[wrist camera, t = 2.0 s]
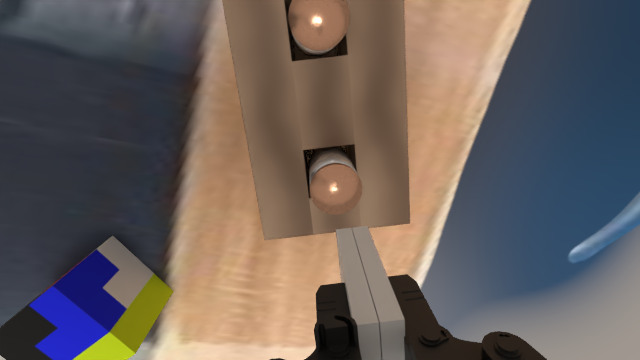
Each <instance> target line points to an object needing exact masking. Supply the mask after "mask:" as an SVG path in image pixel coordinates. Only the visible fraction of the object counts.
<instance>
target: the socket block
mask: <svg viewBox="0 0 640 360" xmlns="http://www.w3.org/2000/svg"><path fill="white" fill-rule="evenodd" d="M222 1H223V7H224V13H225V18H226V24H227V30H228V35H229V41H230V47H231V52H232V58H233V64H234V69H235V75H236V81H237V86H238V92H239V98H240V103H241V109H242V115H243V120H244V126H245V132H246V137H247V143H248V149H249V154H250V160H251V166H252V171H253V177H254V183H255V188H256V194H257V200H258V205H259V211H260V217H261V222H262V228H263V234H264V239H265V240H271V239H280V238H289V237H297V236H306V235H314V234H323V233H332V232H336V229H345V228H351V229H352V228H354V227H362V226H367V227H368V228H375V227H383V226H392V225H400V224H409V223H410V205H409V169H408V133H407V97H406V61H405V25H404V0H346V2H347V4H348V7H349V12H350V21H349V26H348V29H347V32H346V34H345V36H344V37H343V39H342V40H341V41H340V42H339V43H338V44H337V45H338V56H336V57H327V58H318V59H309V60H300V61H294V54H293V46H292V38H291V29H290V25H289V19H288V14H289V7H290V4H291V2H292V0H222ZM343 145H346V151H347V155H348V157H349V158H350V160H351V162H352V164H353V166H354V168H355V170H356V172H357V174H358V176H359V178H360V180H361V183H362V195H361V198H360V200H359V202H358V204H357V205H356V206H355V207H354V208H353V209H351V210H350V211H348V212H346V213H343V214H337V215H334V214H328V213H325V212H323V211H321V210H320V209H318V208H317V207H316V206H315V204H314V203H313V201H312V199H311V196H310V180H309V174H308V167H307V159H306V151H305V150H308V149H317V148H325V147H334V146H343Z"/></svg>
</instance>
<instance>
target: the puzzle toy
mask: <svg viewBox="0 0 640 360" xmlns="http://www.w3.org/2000/svg"><path fill="white" fill-rule="evenodd" d="M172 293H173V290H172V289H170V288H169V287H168V286H167V285H166V284H165V283H164V282H163V281H162V280H161V279H160V278H158V277H157V276H156V275H155V274H154V273H153V272H152V271H151V270H150V269H149V268H148V267H146V266H145V265H144V264H143V263H142V262H141V261H140V260H139V259H138V258H137V257H136V256H134V255H133V254H132V253H131V252H130V251H129V250H128V249H127V248H126V247H125V246H124V245H123V244H121V243H120V242H119V241H118V240H117V239H116V238H115V237H114V236H111V237H110V238H109V239H108V240H107V241H105V242H104V243H103V244H102V245H100V246H99V247H98V248H97V249H95V250H94V251H93V252H92V253H90V254H89V255H88V256H87V257H85V258H84V259H83V260H82V261H80V262H79V263H78V264H77V265H75V266H74V267H73V268H72V269H70V270H69V271H68V272H67V273H66V274H64V275H63V276H62V277H61V278H59V279H58V280H57V281H56V282H54V283H53V284H52V285H51V286H50V287H48V288H47V289H46V290H45V291H44V292H42V293H41V294H40V295H39V296H38V297H36V298H35V299H34V300H33V301H32V302H30V303H29V304H28V305H27V306H26V307H24V308H23V309H22V310H21V311H20V312H18V313H17V314H16V315H15V316H13V317H12V318H11V319H10V320H9V321H7V322H6V323H5V324H4V325H3V326H1V327H0V355H1V356H2V357H3V358H5V359H6V360H127V359H128V358H130V357H131V356H133V355H134V354H135V353H136V352H137V350H138V348H139V347H140V345H141V344H142V342H143V340H144V339H145V337H146V335H147V334H148V332H149V330H150V329H151V327H152V325H153V324H154V322H155V321H156V319H157V317H158V316H159V314H160V312H161V311H162V309H163V307H164V306H165V304H166V302H167V301H168V299H169V297H170V296H171V294H172Z"/></svg>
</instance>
